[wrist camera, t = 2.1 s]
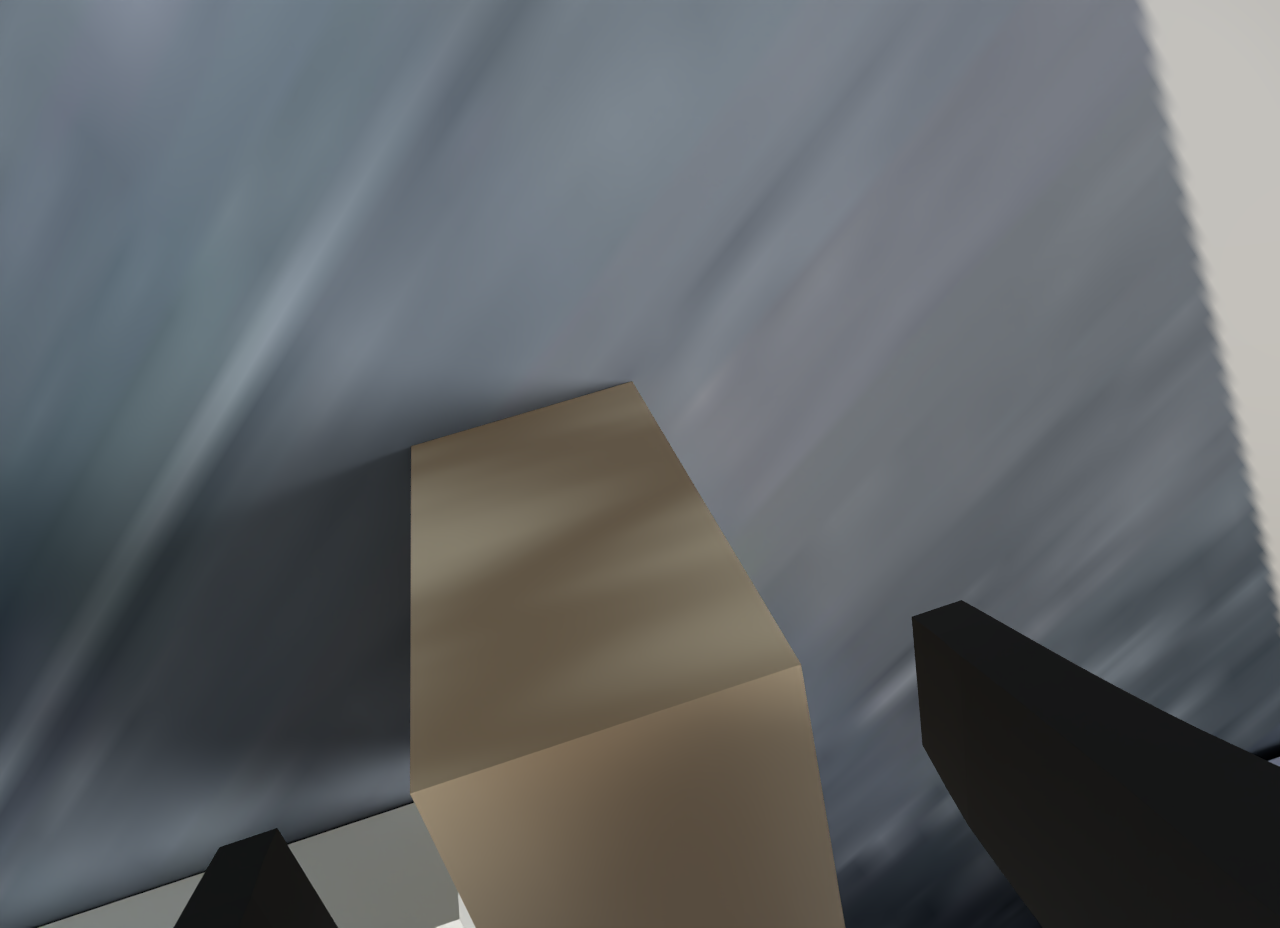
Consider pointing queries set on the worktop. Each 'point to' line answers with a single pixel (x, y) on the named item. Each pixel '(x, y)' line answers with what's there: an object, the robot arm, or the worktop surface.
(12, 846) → the worktop surface
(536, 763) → the block
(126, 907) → the board
